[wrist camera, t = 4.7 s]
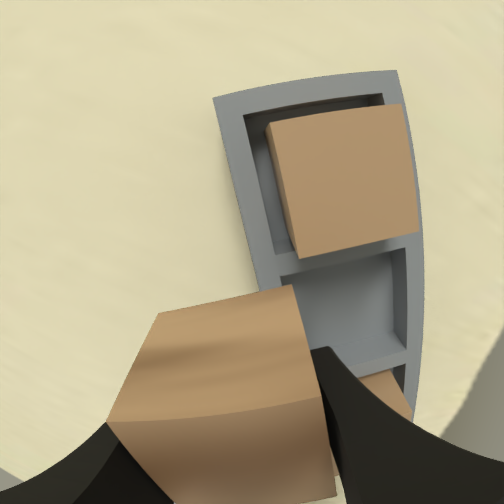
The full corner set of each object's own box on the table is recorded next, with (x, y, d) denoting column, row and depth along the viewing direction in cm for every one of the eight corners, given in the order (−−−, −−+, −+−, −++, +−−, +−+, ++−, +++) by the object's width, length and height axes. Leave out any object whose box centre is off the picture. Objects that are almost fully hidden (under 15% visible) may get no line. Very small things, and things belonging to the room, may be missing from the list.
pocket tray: (398, 403, 21) (425, 460, 15) (297, 429, 21) (306, 494, 16) (372, 81, 14) (430, 54, 8) (219, 106, 15) (201, 83, 9)
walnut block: (313, 386, 11) (337, 496, 7) (201, 406, 12) (184, 512, 7) (291, 284, 10) (321, 395, 5) (158, 313, 10) (105, 422, 6)
